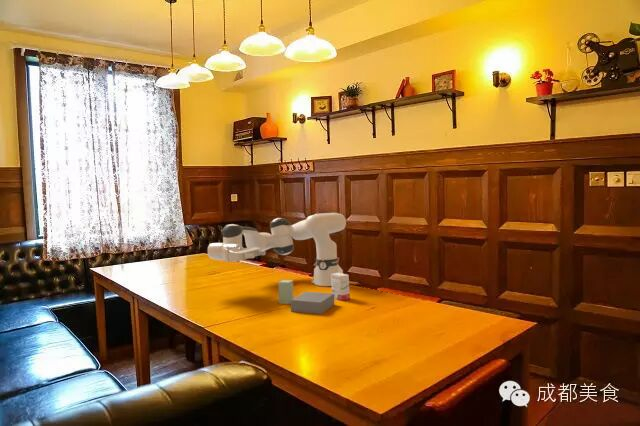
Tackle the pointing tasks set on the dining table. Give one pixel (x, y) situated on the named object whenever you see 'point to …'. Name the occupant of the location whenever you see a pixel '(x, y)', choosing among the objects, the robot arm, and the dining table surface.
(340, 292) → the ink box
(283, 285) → the sage block
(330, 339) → the dining table surface
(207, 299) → the dining table surface
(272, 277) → the dining table surface
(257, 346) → the dining table surface
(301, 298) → the gray block
